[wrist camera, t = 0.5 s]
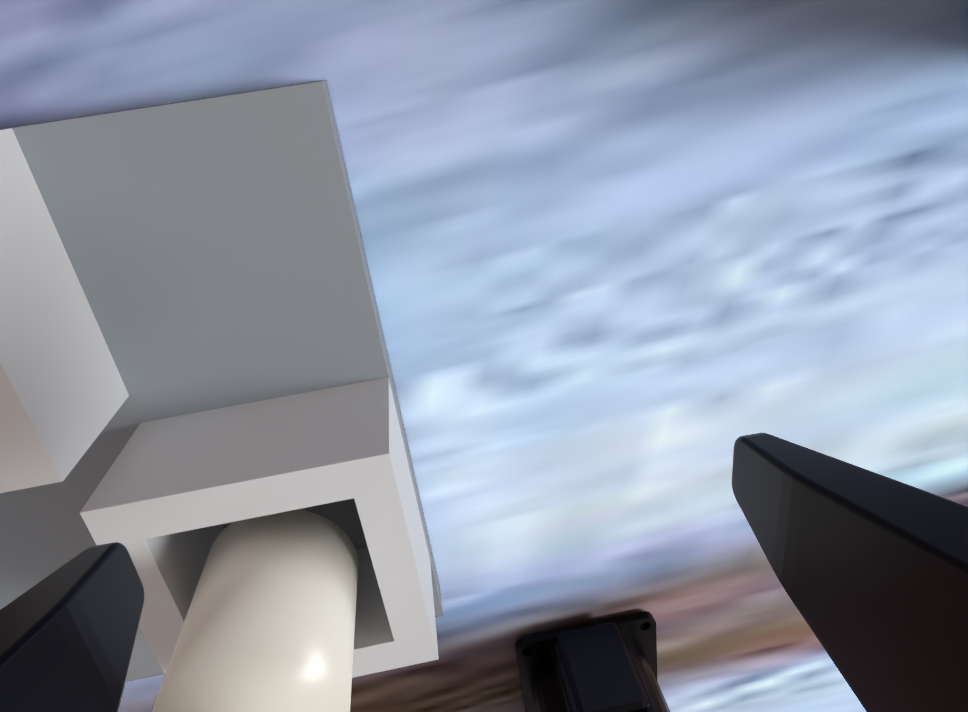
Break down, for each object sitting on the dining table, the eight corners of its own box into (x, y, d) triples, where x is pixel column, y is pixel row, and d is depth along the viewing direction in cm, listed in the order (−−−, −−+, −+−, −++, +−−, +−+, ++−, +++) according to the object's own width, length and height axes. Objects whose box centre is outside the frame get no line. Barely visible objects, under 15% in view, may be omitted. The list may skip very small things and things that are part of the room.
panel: (440, 587, 27) (453, 719, 22) (-152, 709, 25) (-297, 885, 20) (326, 79, 18) (300, 88, 13) (-587, 217, 17) (-1055, 292, 11)
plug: (371, 603, 20) (367, 757, 16) (233, 632, 20) (189, 797, 16) (339, 495, 18) (324, 635, 14) (186, 524, 18) (120, 677, 14)
